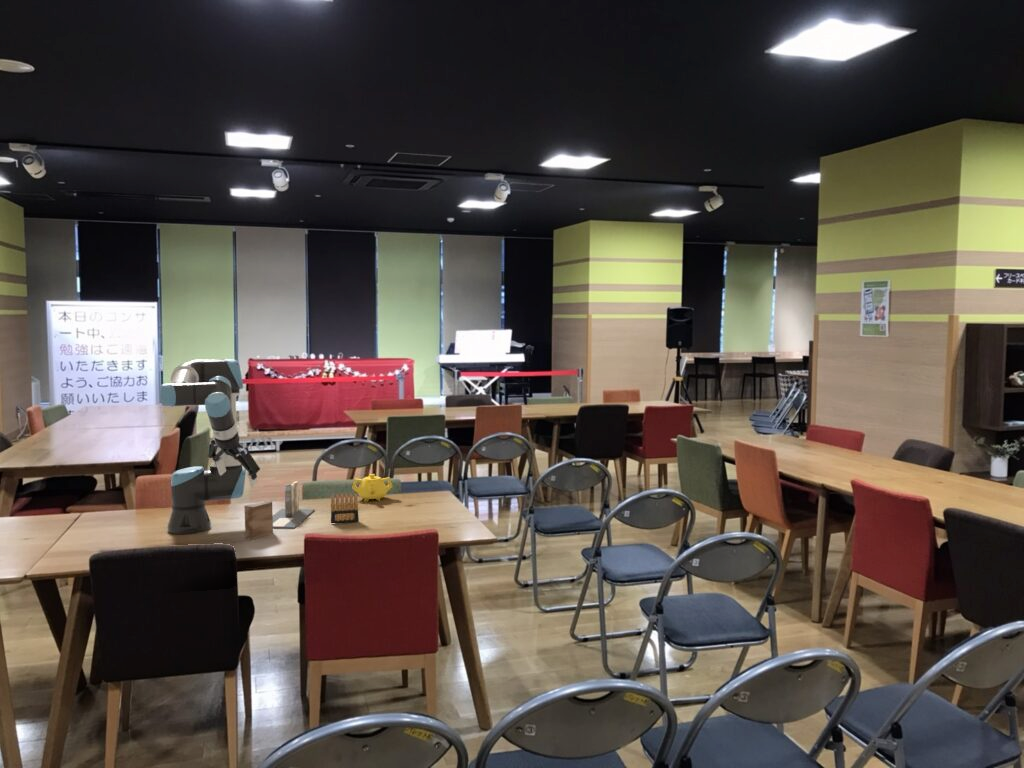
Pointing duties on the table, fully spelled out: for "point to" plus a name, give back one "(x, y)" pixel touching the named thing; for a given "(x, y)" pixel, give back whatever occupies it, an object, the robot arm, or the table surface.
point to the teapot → (372, 487)
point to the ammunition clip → (344, 509)
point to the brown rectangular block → (258, 519)
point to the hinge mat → (290, 518)
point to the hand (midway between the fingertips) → (238, 478)
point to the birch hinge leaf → (291, 499)
